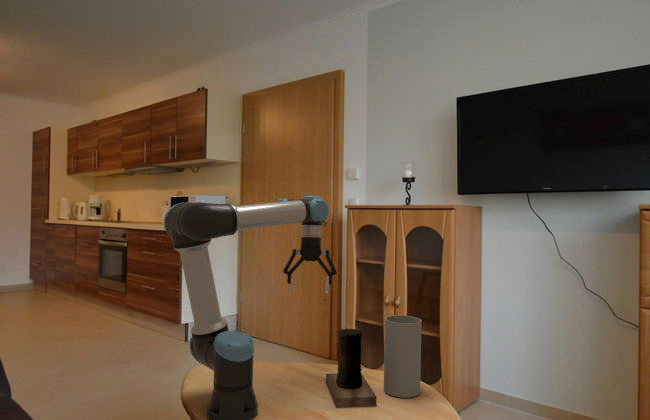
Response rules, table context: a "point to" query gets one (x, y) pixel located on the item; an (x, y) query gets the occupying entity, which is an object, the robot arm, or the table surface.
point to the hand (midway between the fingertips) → (309, 293)
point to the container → (349, 359)
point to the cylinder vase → (402, 356)
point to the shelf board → (350, 394)
